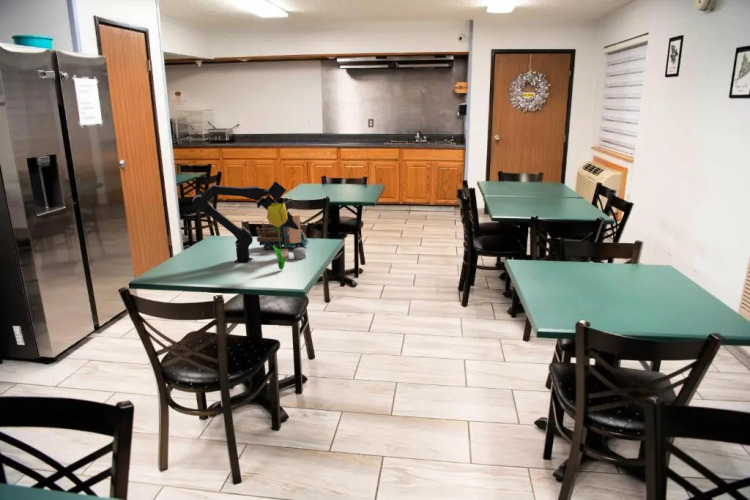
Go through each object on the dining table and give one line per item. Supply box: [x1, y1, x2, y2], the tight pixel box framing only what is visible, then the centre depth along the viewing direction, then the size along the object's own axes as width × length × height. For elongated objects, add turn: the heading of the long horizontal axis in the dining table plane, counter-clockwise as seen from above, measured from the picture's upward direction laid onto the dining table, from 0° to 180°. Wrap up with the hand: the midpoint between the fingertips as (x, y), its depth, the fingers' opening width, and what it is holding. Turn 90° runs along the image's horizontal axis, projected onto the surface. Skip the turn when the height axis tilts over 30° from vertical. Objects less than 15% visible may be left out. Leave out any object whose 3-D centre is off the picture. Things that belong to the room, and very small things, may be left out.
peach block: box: [287, 213, 302, 243], centre depth 253 cm, size 5×5×13 cm
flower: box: [266, 202, 288, 272], centre depth 229 cm, size 9×8×30 cm
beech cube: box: [278, 248, 290, 262], centre depth 249 cm, size 4×4×4 cm
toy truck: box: [255, 222, 310, 251], centre depth 268 cm, size 11×25×15 cm, turn 86°
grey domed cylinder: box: [292, 247, 307, 261], centre depth 251 cm, size 6×6×4 cm
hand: (297, 227), depth 253 cm, fingers closed on peach block, 5 cm apart
